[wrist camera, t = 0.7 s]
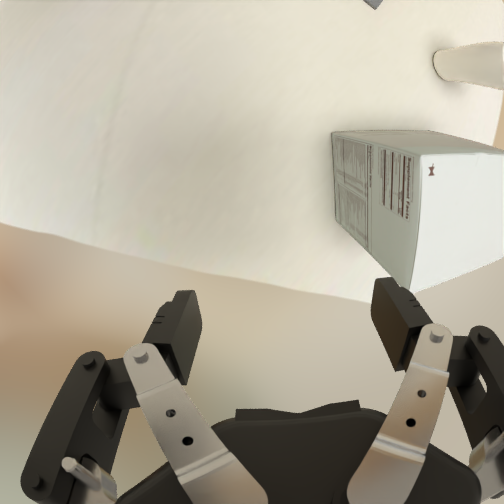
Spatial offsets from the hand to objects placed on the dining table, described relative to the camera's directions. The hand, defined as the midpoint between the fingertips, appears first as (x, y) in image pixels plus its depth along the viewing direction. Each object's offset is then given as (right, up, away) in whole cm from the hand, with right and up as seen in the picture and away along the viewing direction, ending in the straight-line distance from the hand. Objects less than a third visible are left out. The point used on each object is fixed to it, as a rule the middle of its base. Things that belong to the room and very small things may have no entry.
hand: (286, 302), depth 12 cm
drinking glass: (+28, +31, +16) cm, 45 cm away
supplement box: (+18, +14, +24) cm, 33 cm away
